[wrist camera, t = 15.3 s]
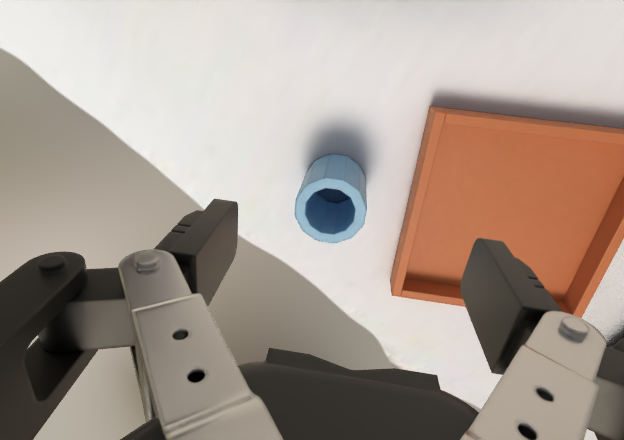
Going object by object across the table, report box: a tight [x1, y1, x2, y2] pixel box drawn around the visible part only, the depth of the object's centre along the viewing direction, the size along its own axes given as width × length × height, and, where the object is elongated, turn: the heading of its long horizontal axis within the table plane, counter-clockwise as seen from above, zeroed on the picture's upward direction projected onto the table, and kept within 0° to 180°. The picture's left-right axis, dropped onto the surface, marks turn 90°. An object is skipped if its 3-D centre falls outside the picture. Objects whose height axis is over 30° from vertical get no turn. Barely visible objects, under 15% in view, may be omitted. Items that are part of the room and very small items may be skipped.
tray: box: [390, 106, 624, 318], centre depth 32 cm, size 17×17×2 cm
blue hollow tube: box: [295, 154, 367, 243], centre depth 31 cm, size 5×5×6 cm
